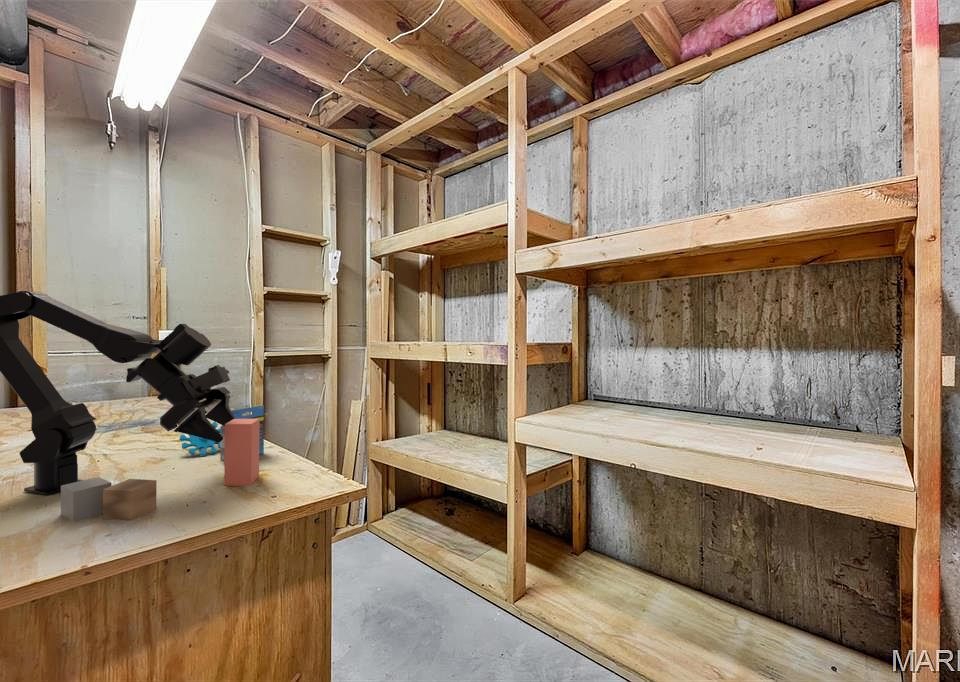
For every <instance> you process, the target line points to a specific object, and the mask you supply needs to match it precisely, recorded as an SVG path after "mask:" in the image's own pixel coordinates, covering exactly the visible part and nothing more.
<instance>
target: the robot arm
mask: <svg viewBox="0 0 960 682" xmlns="http://www.w3.org/2000/svg"><path fill="white" fill-rule="evenodd" d="M31 316H32V317H34V318H36V319H39V320H40V321H42V322H45V323H47V324H49V325H51V326H53V327H56V328H59V329H61V330H63V331H65V332H67V333H70V334H72V335H73V336H76V337H78V338H79V339H80V338H81V339H82V340H85V341H87V342H88V343H90V344H91V345H93V347H94V348H95V349H96V350H97V351H98V352H99V353H100V354H102V355H103V356H105V357H106V358H108V359H109V360H111V361H113V362H115V363H118V364H127V363H134V362H140V363H139V364H138V365H137V366H136V367H129V368H127V369H126V372H127V373H126V379H125V382H126V383H132V382H137V381H140V380H142V381H144V382H145V383H146V384H147V385H149V387H151V388H152V389H153V390H154V391H155V392H156V393H158V395H157V397H156V398H157V399H158V400H159V401H160V402H161V401H164V400H166V401H167V403H169V404H170V405H171V406H172V407H170V408H169V409H168V410H167V411H166V412H165V413H163V415H162V416H161V417H159V423H160V424H159V425H160V426H161V427H162V428H163V429H165V430H166V431H167V432H170V431H173V432H174V433H182V434H184V435H185V434H186V435H188V434H189V435H193V436H197V437H201V438H204V439H208V440H211V441H215V442H221V441H222V440H223V437H222V435H221V433H219V432H218V430H217V429H218V428H217V427H216V428H215V427H214V426H213V425H212V423H211V421H212V422H216V423H217V424H218V425H220V426H222V425H223V426H225V424H226V423H228V422H230V421H231V420H233V419H235V417H234V415H233V413H232V412H231V411H232V410H231V408H230V406H229V405H230V404H229V403H230V399H231V391H230V390H229V389H227V388H226V387H225V386H218V385H221V384H223V383H227V382H230V381H231V378H230V377H229V374H230V371H229V370H228V369H227V368H226V367H225V366H221V365H219V364H218V365H213V366H212V367H208V371H207V372H204V373H202V374H199V375H198V376H197V375H195V374H194V373H193V374H192V373H189V374H186V373H185V371H183V370H182V369H181V368H180V367H179V366H182V365H184V366H190V365H191V364H192V363H193V362H194V361H196V360H197V359H198V358H199V357H200V356H201V355H202V354H203V353H205V352H206V351H207V350H208V349H209V348H210V347H211V346H212V342H211V341H210V339H208V337H207V336H206V335H204V334H203V333H200V332H199V331H198V330H195V329H194V328H192V327H190V326H189V325H187V323H178V324H177V325H176V326H175V327H174V329H173V330H172V331H171V332H169V334H168V335H166V337H165V338H163V339H160V340H159V339H154V338H152V336H151V335H149V334H147V333H144V332H141V331H139V330H134V329H132V328H131V329H130V328H126V327H122V326H118V325H113V324H109V323H107V322H104V321H103V320H100V319H98V318H96V317H94V316H92V315H89V314H87V313H85V312H82V311H80V310H78V309H77V308H75V307H72V306H70V305H67V304H65V303H64V302H61V301H59V300H57V299H55V298H52V297H51V296H49V295H48V294H46V293H44V292H42V291H32V290H19V291H16V292H12V293H11V292H10V293H8V294H3V295H1V294H0V373H1V375H2V376H3V377H4V378H5V380H6V381H7V382H8V384H9V385H10V386H11V388H12V389H13V391H14V392H15V393H16V395H17V396H18V397H19V399H20V401H22V403H23V404H24V405H25V407H26V408H27V410H28V411H29V413H30V415H31V421H30V422H31V425H30V426H31V428H30V430H31V433H32V434H33V436H34V439H33V440H32V441H31V442H30V443H28V445H26V446H25V447H24V448H23V449H22V450H21V451H20V452H19V456H20V458H21V461H22V462H23V464H33V478H34V479H33V484H34V485H32V486H31V485H30V486H27V487H24V488H23V491H24V492H28V493H33V494H39V495H45V496H47V495H52V494H55V493H59V492H61V486H62V485H66V484H70V483H74V482H79V481H83V480H84V479H80V478H79V464H78V454H77V452H80V451H84V450H85V449H86V448H87V445H88V443H89V441H90V440H92V439H93V437H94V436H95V433H96V430H97V426H96V423H95V420H96V419H97V417H94V416H93V415H92V414H91V413H90V412H89V410H88V408H87V406H86V405H85V404H84V403H83V402H79V403H77V404H72V403H70V402H68V401H66V400H65V399H64V398H63V397H62V396H61V394H60V392H59V391H58V390H57V389H56V387H55V386H54V385H53V383H52V382H51V379H49V378H48V376H47V375H46V374H45V372H44V371H43V369H42V368H41V366H40V365H39V364H38V362H37V361H36V360H35V358H34V357H33V356H32V354H31V353H30V352H29V350H28V349H27V347H26V346H25V345H24V342H22V340H21V338H20V337H19V336H20V323H19V321H20V320H21V321H22V320H24V319H28V318H30V317H31ZM153 354H156V355H155V356H153V357H152V358H151V356H152V355H153ZM141 361H142V362H141ZM215 386H217V387H215ZM213 387H214V388H213ZM210 420H211V421H210ZM189 435H188V436H189Z"/></svg>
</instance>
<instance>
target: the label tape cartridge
mask: <svg viewBox="0 0 960 682" xmlns="http://www.w3.org/2000/svg"><path fill="white" fill-rule="evenodd" d="M264 409H265V405H264V404H263V405H258V406H251V407H245V408H241V409H233V410H231V412H232V413H233V415H234V417H235V419H260V426H259V455H262V454H264V453H265V451H264V450H265V449H264V448H265V447H264V446H265V444H264V443H265V436H264V435H265V434H264V433H265V428H264V425H265V424H264V423H265V420H264V419H265V416H264V413H265V412H264ZM247 412H248V413H251V414H247V415H243V414H246V413H247ZM220 428H221V433H220V434H221V435H222V437H223V440H222V441H221V442H220V448H219V449H220V454H219V455H220V461H221V460H222V461H221V462H225V426H223V425H220Z"/></svg>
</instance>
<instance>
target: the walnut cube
mask: <svg viewBox="0 0 960 682" xmlns="http://www.w3.org/2000/svg"><path fill="white" fill-rule="evenodd" d="M157 489H158V488H157V480H155V479H142V478H141V479H140V478H138V479H137V478H127V479H126V480H124V481H120V482H118V483H115V484H113V485H111V486H110V487H108V488H105V489H103V513H102V519H103V520H115V521H116V520H117V521H134V520H135V519H138V518H140V517H142V516H143V515H146V514H148V513H149V512H151V511H153V510H154V509H155V510H156V509H157V493H158V492H157V491H158V490H157Z"/></svg>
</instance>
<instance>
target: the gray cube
mask: <svg viewBox="0 0 960 682" xmlns="http://www.w3.org/2000/svg"><path fill="white" fill-rule="evenodd" d="M82 480H83V481H79V482H74V483H70V484H66V485H62V486H61V491H60V515H61V516H62V517H64V518H66V519H68V520H70V521H71V522H73V523H74V522H75V523H76V522H77V521H80V520H81V521H82V520H84V519H87V518H88V519H89V518H92V517H94V516H95V517H96V516H99V515H101V514H102V515H103V489H105V488H108V487H110V486H112V481H109V480H107V479H105V478H103V477H100V476H97V477H91V478H88V479H87V478H86V479H82Z"/></svg>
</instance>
